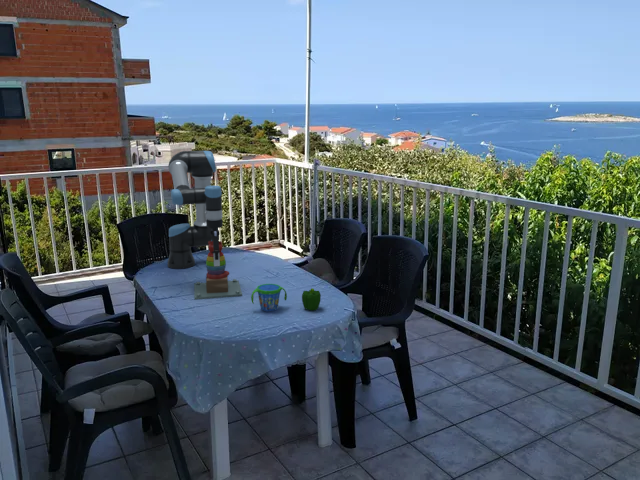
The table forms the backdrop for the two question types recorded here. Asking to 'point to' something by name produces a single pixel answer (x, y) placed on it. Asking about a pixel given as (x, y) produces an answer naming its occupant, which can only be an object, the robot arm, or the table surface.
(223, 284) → the walnut brick
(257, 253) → the table surface
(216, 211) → the robot arm
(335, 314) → the table surface
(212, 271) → the stacking bear
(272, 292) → the snack cup
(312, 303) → the bell pepper
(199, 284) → the base plate
